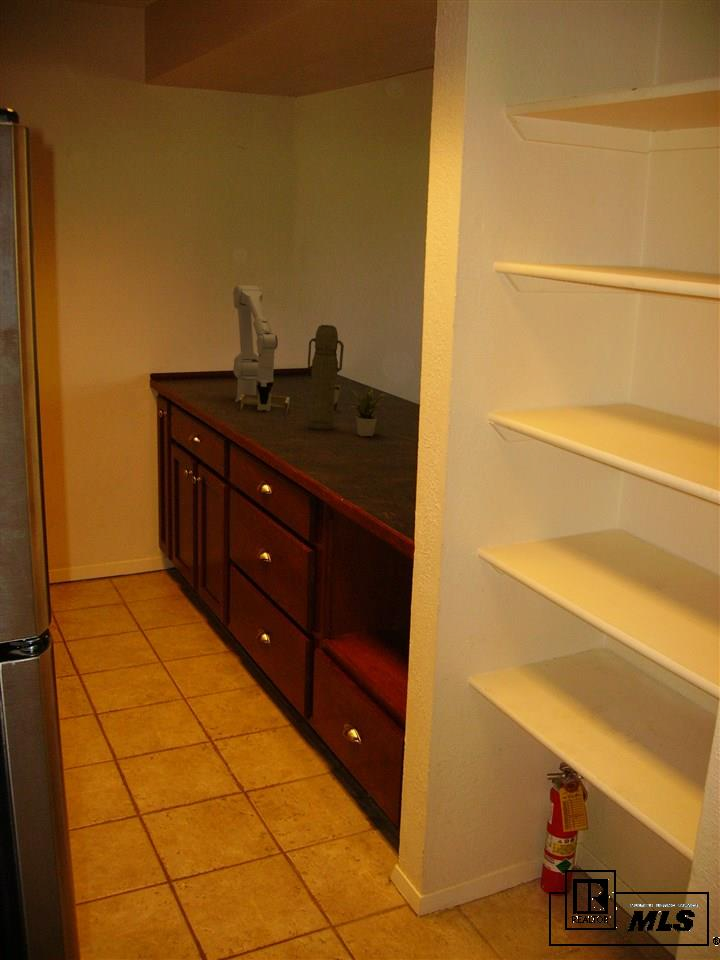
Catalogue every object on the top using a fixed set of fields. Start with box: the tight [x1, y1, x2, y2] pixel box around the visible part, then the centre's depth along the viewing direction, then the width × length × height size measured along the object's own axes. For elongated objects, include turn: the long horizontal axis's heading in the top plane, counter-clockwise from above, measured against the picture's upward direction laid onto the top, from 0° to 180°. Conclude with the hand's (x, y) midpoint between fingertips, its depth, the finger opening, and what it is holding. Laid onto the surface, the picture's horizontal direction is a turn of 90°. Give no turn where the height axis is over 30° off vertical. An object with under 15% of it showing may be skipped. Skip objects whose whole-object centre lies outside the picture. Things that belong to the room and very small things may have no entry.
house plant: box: [350, 387, 388, 437], centre depth 320 cm, size 14×14×16 cm
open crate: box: [237, 394, 291, 415], centre depth 355 cm, size 15×18×4 cm
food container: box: [334, 384, 341, 412], centre depth 359 cm, size 12×6×10 cm, turn 145°
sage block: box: [256, 392, 272, 412], centre depth 354 cm, size 4×4×6 cm
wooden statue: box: [307, 324, 345, 431], centre depth 326 cm, size 9×12×35 cm
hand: (264, 403), depth 355 cm, fingers open, 5 cm apart
